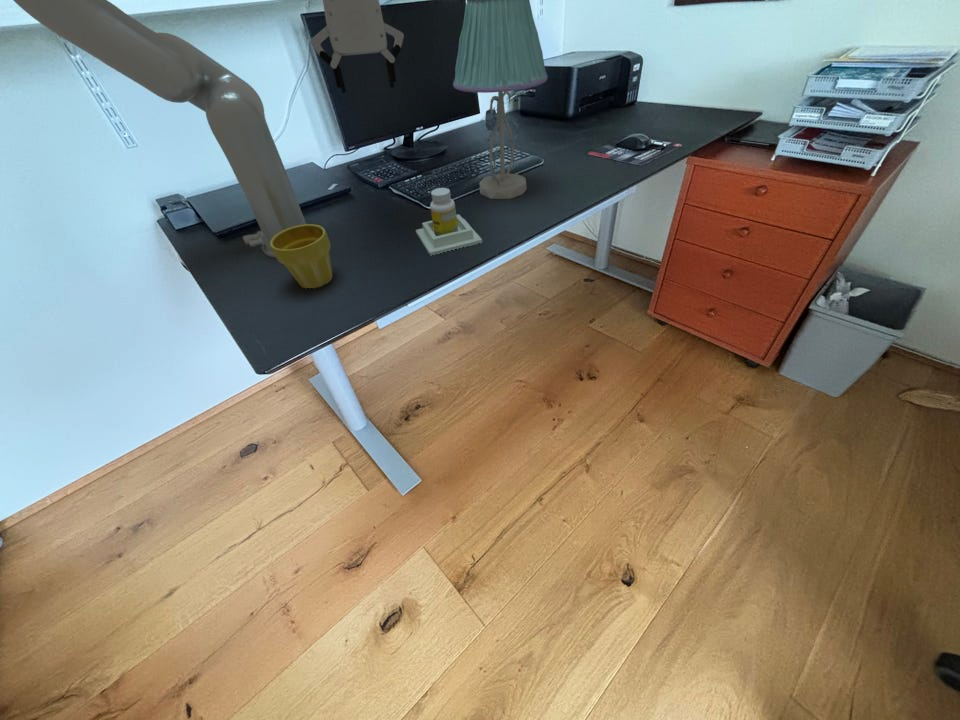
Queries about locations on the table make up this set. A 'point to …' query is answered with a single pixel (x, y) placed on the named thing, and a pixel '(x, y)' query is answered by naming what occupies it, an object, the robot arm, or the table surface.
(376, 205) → the table surface
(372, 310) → the table surface
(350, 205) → the table surface
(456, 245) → the socket holder
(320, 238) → the plant pot
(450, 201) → the supplement bottle
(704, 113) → the table surface
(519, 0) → the table lamp
